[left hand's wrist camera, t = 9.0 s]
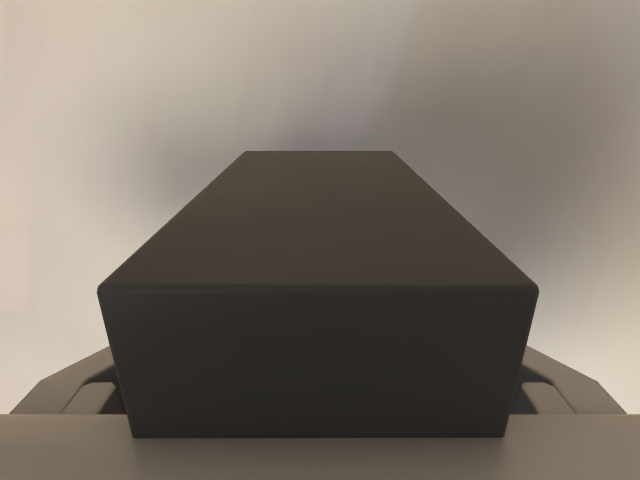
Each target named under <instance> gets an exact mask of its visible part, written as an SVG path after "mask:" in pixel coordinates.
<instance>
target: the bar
mask: <svg viewBox="0 0 640 480" xmlns="http://www.w3.org/2000/svg"><path fill="white" fill-rule="evenodd" d="M538 294H539V289H538V286H537V285H536V284H535V283H534V282H533V281H532V280H531V279H530V278H529V277H528V276H527V275H526V274H524V273H523V272H522V271H521V270H520V269H519V268H518V267H517V266H516V265H515V264H514V263H513V262H511V261H510V260H509V259H508V258H507V257H506V256H505V255H504V254H503V253H502V252H501V251H500V250H498V249H497V248H496V247H495V246H494V245H493V244H492V243H491V242H490V241H489V240H488V239H487V238H485V237H484V236H483V235H482V234H481V233H480V232H479V231H478V230H477V229H476V228H475V227H474V226H473V225H471V224H470V223H469V222H468V221H467V220H466V219H465V218H464V217H463V216H462V215H461V214H460V213H458V212H457V211H456V210H455V209H454V208H453V207H452V206H451V205H450V204H449V203H448V202H447V201H445V200H444V199H443V198H442V197H441V196H440V195H439V194H438V193H437V192H436V191H435V190H434V189H432V188H431V187H430V186H429V185H428V184H427V183H426V182H425V181H424V180H423V179H422V178H421V177H420V176H418V175H417V174H416V173H415V172H414V171H413V170H412V169H411V168H410V167H409V166H408V165H407V164H405V163H404V162H403V161H402V160H401V159H400V158H399V157H398V156H397V155H396V154H395V153H394V152H392V151H246V152H244V153H243V154H242V155H241V156H240V157H238V158H237V159H236V160H235V161H234V162H233V163H232V164H231V165H230V166H229V167H228V168H226V169H225V170H224V171H223V172H222V173H221V174H220V175H219V176H218V177H217V178H216V179H214V180H213V181H212V182H211V183H210V184H209V185H208V186H207V187H206V188H205V189H204V190H202V191H201V192H200V193H199V194H198V195H197V196H196V197H195V198H194V199H193V200H192V201H190V202H189V203H188V204H187V205H186V206H185V207H184V208H183V209H182V210H181V211H180V212H178V213H177V214H176V215H175V216H174V217H173V218H172V219H171V220H170V221H169V222H168V223H166V224H165V225H164V226H163V227H162V228H161V229H160V230H159V231H158V232H157V233H156V234H154V235H153V236H152V237H151V238H150V239H149V240H148V241H147V242H146V243H145V244H144V245H143V246H141V247H140V248H139V249H138V250H137V251H136V252H135V253H134V254H133V255H132V256H131V257H129V258H128V259H127V260H126V261H125V262H124V263H123V264H122V265H121V266H120V267H119V268H117V269H116V270H115V271H114V272H113V273H112V274H111V275H110V276H109V277H108V278H107V279H105V280H104V281H103V282H102V283H101V284H100V285H99V286H98V289H97V295H98V299H99V303H100V307H101V311H102V315H103V320H104V324H105V328H106V332H107V336H108V340H109V344H110V348H111V352H112V356H113V361H114V365H115V369H116V373H117V377H118V381H119V385H120V389H121V393H122V397H123V401H124V406H125V410H126V414H127V418H128V422H129V426H130V430H131V434H132V437H133V438H501V437H504V436H505V432H506V427H507V423H508V419H509V415H510V411H511V407H512V402H513V398H514V394H515V390H516V386H517V382H518V377H519V373H520V369H521V365H522V361H523V357H524V352H525V348H526V344H527V340H528V336H529V332H530V328H531V323H532V319H533V315H534V311H535V307H536V303H537V298H538Z"/></svg>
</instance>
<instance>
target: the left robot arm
mask: <svg viewBox="0 0 640 480" xmlns="http://www.w3.org/2000/svg"><path fill="white" fill-rule="evenodd" d="M0 480H640V414H627V413H626V412H625V411H624V410H623V409H622V408H621V407H620V406H619V404H618V403H617V402H616V401H615V400H614V399H613V398H612V397H611V396H610V395H609V394H608V393H607V392H606V390H605V389H604V388H603V387H602V386H601V385H600V384H599V383H598V382H597V381H595V380H593V379H591V378H589V377H587V376H586V375H584V374H582V373H580V372H578V371H576V370H574V369H572V368H570V367H568V366H566V365H564V364H562V363H560V362H558V361H556V360H554V359H552V358H550V357H548V356H546V355H544V354H542V353H540V352H538V351H536V350H534V349H532V348H531V347H529V346H527V345H526V348H525V352H524V357H523V361H522V365H521V369H520V373H519V377H518V382H517V386H516V390H515V394H514V398H513V402H512V407H511V411H510V415H509V419H508V423H507V427H506V432H505V436H504V437H501V438H133V437H132V434H131V430H130V426H129V422H128V418H127V414H126V410H125V406H124V401H123V397H122V393H121V389H120V385H119V381H118V377H117V373H116V369H115V365H114V361H113V356H112V352H111V348H110V346H108V347H106V348H104V349H102V350H100V351H98V352H96V353H94V354H93V355H91V356H89V357H87V358H85V359H83V360H81V361H79V362H77V363H75V364H73V365H71V366H69V367H67V368H65V369H63V370H61V371H59V372H57V373H55V374H53V375H51V376H49V377H47V378H45V379H43V380H41V381H40V382H39V383H38V384H37V385H36V386H35V387H34V388H33V389H32V390H31V391H30V392H29V393H28V394H27V395H26V396H25V398H24V399H23V400H22V401H21V402H20V403H19V404H18V405H17V406H16V407H15V408H14V409H13V410H12V411H11V412H10V413H9V414H0Z"/></svg>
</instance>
